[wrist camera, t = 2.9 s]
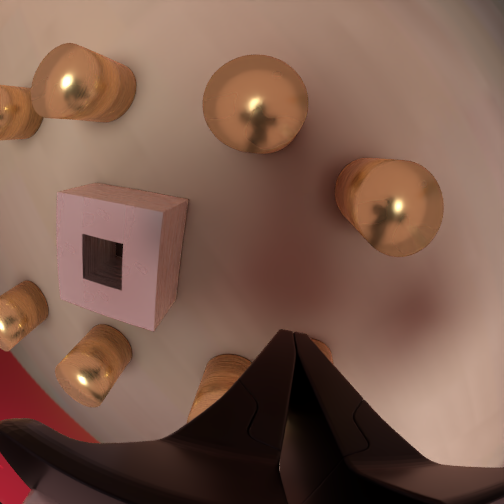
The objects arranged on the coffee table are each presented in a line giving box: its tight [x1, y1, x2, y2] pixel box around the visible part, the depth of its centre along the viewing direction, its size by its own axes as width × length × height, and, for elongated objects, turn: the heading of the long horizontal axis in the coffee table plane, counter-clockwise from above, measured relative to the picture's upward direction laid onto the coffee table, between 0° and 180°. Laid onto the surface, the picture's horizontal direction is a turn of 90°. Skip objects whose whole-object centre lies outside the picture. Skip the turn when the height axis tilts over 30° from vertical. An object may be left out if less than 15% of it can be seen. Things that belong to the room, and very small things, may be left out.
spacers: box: [0, 43, 443, 423], centre depth 12 cm, size 17×22×4 cm
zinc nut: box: [57, 183, 189, 331], centre depth 12 cm, size 5×5×3 cm
